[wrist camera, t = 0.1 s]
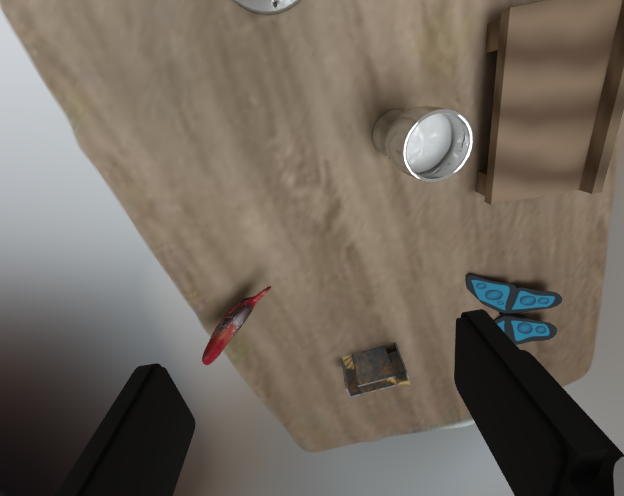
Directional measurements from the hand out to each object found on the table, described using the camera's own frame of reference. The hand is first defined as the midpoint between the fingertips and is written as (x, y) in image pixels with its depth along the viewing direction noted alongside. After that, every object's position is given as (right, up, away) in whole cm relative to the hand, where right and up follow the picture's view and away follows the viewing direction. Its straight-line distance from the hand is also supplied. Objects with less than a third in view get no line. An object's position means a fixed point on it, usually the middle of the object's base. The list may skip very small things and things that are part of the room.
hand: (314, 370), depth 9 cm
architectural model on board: (+12, -17, +50) cm, 54 cm away
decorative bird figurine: (-12, -5, +43) cm, 45 cm away
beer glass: (+11, +20, +32) cm, 39 cm away
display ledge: (+29, +23, +30) cm, 48 cm away
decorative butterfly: (+36, -8, +46) cm, 59 cm away
